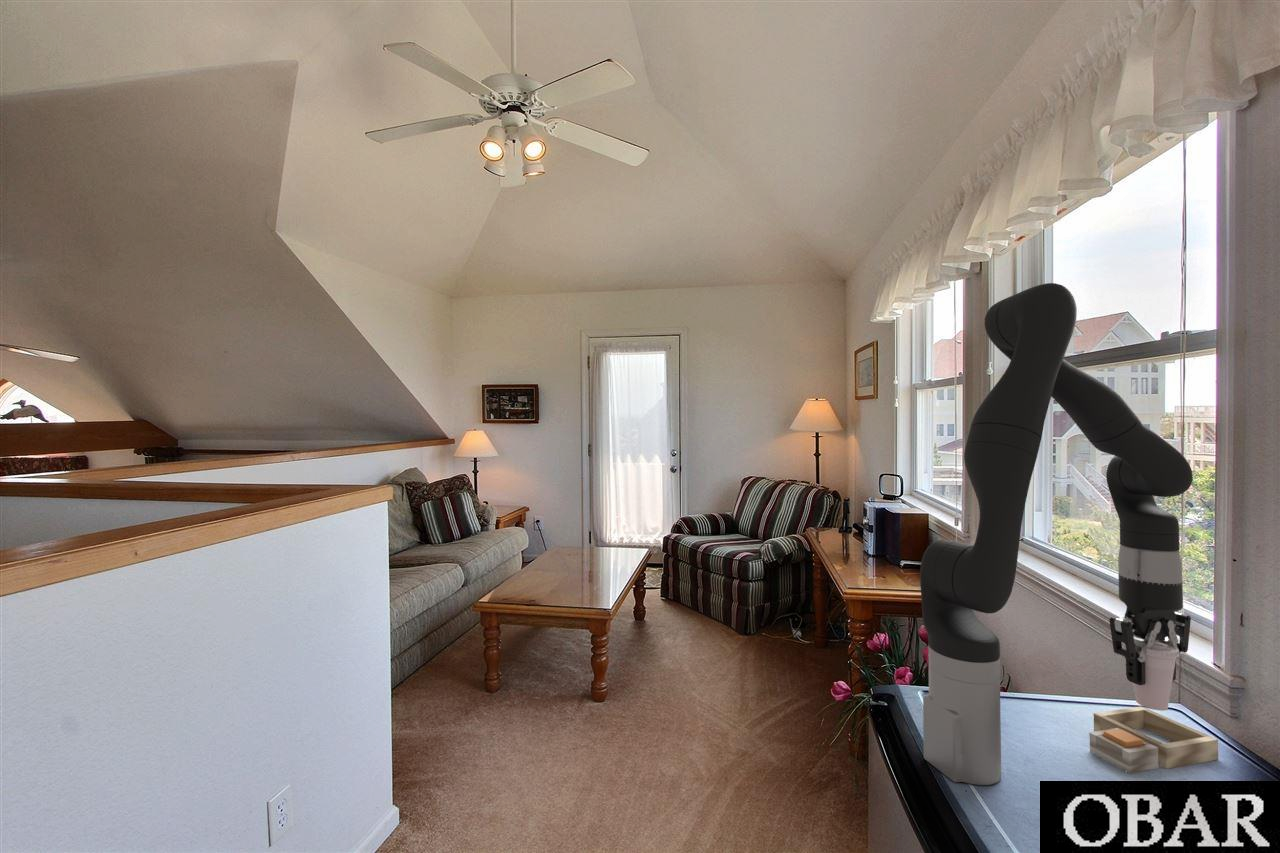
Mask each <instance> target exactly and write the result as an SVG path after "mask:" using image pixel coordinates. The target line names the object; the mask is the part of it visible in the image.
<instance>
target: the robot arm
mask: <svg viewBox="0 0 1280 853" xmlns="http://www.w3.org/2000/svg"><path fill="white" fill-rule="evenodd" d="M1077 311H1078V310H1077V304H1076V300H1075V297H1074V295H1073V294H1072V293H1071V291H1070V290H1069V288H1067V287H1066V286H1064V285H1062V284H1059V283H1056V282H1047V283H1042V284H1038V285H1035V286H1032V287H1030V288H1027V289H1024V290H1022V291H1020V292H1016V293H1015V294H1013V295H1010V296H1007V297H1005V298H1004V299H1001V300H999V301H997V302H995V303H994V304H993V305H991V306H990V308H988V310H987V312H986V314H985V317H984V327H985V332H986V335H987V336H988V338H989V340H990V342H991V343H993V344H992V345H994V346H995V347H996V348H997V349H998V350H999V351H1000V352H1001V353H1002V354H1003V355H1004V356H1005V357H1007V358H1008V359H1009V360H1010V362H1009V364H1008V365H1007V368H1006V370H1005V371H1004V373H1003V375H1001V377H1000V378H999V380H998V381H997V382H996V384H995V385H994V386H993V387H992V389H991V390H990V391H989V392H988V394H987V395H986V397H985V398H984V399H983V401H982V402H981V403H980V405H979V407H978V408H977V410H976V412H975V414H974V417H973V418H972V421H971V424H970V429H969V432H968V436H967V440H966V443H965V448H964V454H963V457H964V458H963V460H964V466H965V468H966V469H965V470H966V472H967V476H968V478H969V480H970V483H971V486H972V489H973V490H974V493H975V496H976V499H977V502H978V504H977V505H978V509H979V518H978V519H979V522H978V528H977V532H976V537H975V541H974V544H971V543H968V542H967V543H966V542H962V541H961V542H960V541H956V540H951V539H939V540H935V541H934V542H932V543H930V544H929V545H928V546H927V547H926V550H925V551H924V553H923V556H922V558H921V563H920V567H919V568H920V571H919V581H920V597H921V598H920V600H921V610H922V611H921V612H922V621H923V622H922V623H923V627H924V630H925V631H926V634H927V636H928V644H927V645H928V648H927V649H928V695H924V696H923V699H922V701H923V702H922V705H923V709H922V710H923V711H922V712H923V715H922V716H923V718H922V721H923V759H924V760H926V761H927V762H928V763H930V765H932V767H935V768H936V769H937V770H939V771H940V772H941V774H943V775H944V776H946V777H947V778H948V779H949V780H950V781H952V782H954V783H962V782H963V783H965V784H966V783H967V784H971V785H977V786H988V785H989V786H990V785H995V784H997V783H998V782H999V781H1001V779H1002V731H1001V730H1002V729H1001V728H1002V727H1001V726H1002V725H1001V724H1002V723H1001V722H1002V721H1001V654H1000V653H1001V647H1000V646H1001V645H1000V640H999V638H998V636H997V635H996V634H995V632H993V630H991V629H990V628H988V626H986V625H985V624H984V623H982V622H981V620H980V619H979V618H978V617H977V616H976V614H974V611H976V612H979V613H984V614H994V613H995V614H996V613H997V612H999V611H1000V610H1002V609H1003V608H1004V607H1005V606H1006V604H1007V603H1008V602H1009V599H1010V596H1011V595H1012V591H1013V588H1014V584H1015V579H1016V573H1017V567H1018V566H1017V565H1018V558H1019V557H1018V556H1019V549H1020V540H1021V533H1022V532H1021V531H1022V525H1023V517H1024V513H1025V508H1026V502H1027V499H1028V498H1027V497H1028V493H1029V490H1030V485H1031V484H1030V483H1031V480H1032V476H1033V472H1034V470H1035V466H1036V462H1037V458H1038V454H1039V450H1040V447H1041V442H1042V441H1041V440H1042V436H1043V431H1044V427H1045V420H1046V416H1047V413H1048V409H1049V406H1050V402H1051V398H1052V399H1053V400H1054V401H1055V402H1056V403H1057V404H1058V405H1059V406H1060V407H1061V408H1062V409H1063V410H1064V411H1065V413H1067V415H1068V416H1069V417H1070V418H1071V420H1072V421H1073V422H1074V423H1075V424H1076V426H1077V427H1078V429H1079V430H1080V431H1081V433H1083V434H1084V435H1083V436H1085V438H1086V439H1087V440H1088V442H1089V443H1090V444H1091V445H1092V446H1093V448H1095V449H1096V450H1098V451H1100V452H1103V453H1104V454H1108V455H1112V456H1113V457H1112V458H1111V459H1110V461H1109V462H1108V465H1107V467H1106V472H1105V473H1106V474H1105V475H1106V477H1105V478H1106V483H1107V487H1108V491H1109V494H1110V496H1111V499H1112V503H1113V506H1114V509H1115V512H1116V513H1117V516H1118V519H1119V551H1118V555H1117V558H1118V559H1117V560H1118V561H1117V562H1118V564H1117V565H1118V566H1117V568H1118V572H1117V573H1118V575H1117V576H1118V577H1117V578H1118V599H1119V600H1120V601H1121V602H1122V603H1124V604H1125V606H1126V611H1125V613H1124V616H1123V617H1115V616H1111V617H1109V626H1110V627H1109V628H1110V633H1111V634H1110V635H1111V641H1112V649H1113V652H1114V653H1115V654H1116V655H1120V656H1122V657H1124V659H1125V675H1126V679H1127V680H1128V682H1130V683H1132V684H1133V683H1135V684H1138V685H1145V683H1146V682H1145V662H1144V660H1145V657H1146V653H1147V650H1146V649H1152V648H1153V644H1154V641H1156V640H1157V642H1161V643H1165V644H1168V645H1169V646H1171V647H1173V646H1175V647H1176V648H1178V650H1179V656H1180V654H1181V653H1185V654H1186V653H1187V652H1188V651H1189V640H1190V629H1191V623H1192V622H1191V621H1192V619H1191V616H1190V615H1188V614H1185V613H1180V612H1179V611H1181V610H1183V608H1184V601H1183V600H1184V599H1183V598H1184V597H1183V594H1184V593H1183V592H1184V591H1183V590H1184V589H1183V588H1184V587H1183V562H1182V559H1181V554H1180V553H1181V552H1180V551H1181V550H1180V524H1179V519H1178V518H1177V517H1176V515H1174V514H1173V513H1170V512H1168V511H1166V510H1163V509H1161V508H1160V507H1159V506H1158V505H1157V503H1156V500H1155V498H1154V497H1162V498H1171V497H1177V496H1180V495H1182V494H1185V492H1187V491H1188V490H1189V489H1190V488H1191V485H1192V483H1193V479H1194V478H1193V477H1194V476H1193V470H1192V467H1191V465H1190V463H1189V461H1188V460H1187V459H1186V457H1185V456H1184V455H1183V454H1182V453H1181V452H1180V451H1178V449H1177V448H1176V447H1174V446H1173V445H1172V444H1170V443H1169V442H1167V440H1165V439H1164V438H1162V437H1161V436H1160V435H1158V433H1156V432H1155V431H1153V430H1151V429H1150V428H1149V427H1147V426H1145V425H1144V424H1143V423H1142V421H1141V420H1140V419H1139V417H1138V416H1137V414H1136V413H1135V412H1134V411H1133V409H1132V408H1131V407H1130V406H1129V405H1128V403H1127V402H1126V401H1125V400H1124V398H1123V397H1122V396H1121V395H1120V394H1119V393H1118V392H1117V391H1115V390H1114V389H1113V388H1112V387H1111V386H1109V385H1108V384H1106V383H1105V382H1104V381H1102V380H1100V379H1098V378H1096V377H1095V376H1093V375H1091V374H1089V373H1087V372H1086V371H1084V370H1082V369H1080V368H1078V367H1077V366H1075V365H1074V364H1071V363H1070V362H1068V361H1067V360H1065V359H1064V358H1065V355H1066V352H1067V350H1068V347H1069V344H1070V342H1071V339H1072V336H1073V333H1074V330H1075V327H1076V324H1077V317H1078V316H1077V315H1078V312H1077ZM1177 636H1179V638H1178V637H1177ZM1134 637H1137V638H1140V639H1143V640H1144V641H1140V640H1137V639H1134ZM1123 643H1124V644H1125V645H1122V644H1123ZM1135 645H1138V646H1139V648H1138V652H1137V653H1136V651H1135ZM1177 658H1179V657H1177ZM1177 658H1176V659H1177ZM1176 680H1177V660H1176V661H1175V668H1174V674H1173V680H1172V682H1173V681H1176Z"/></svg>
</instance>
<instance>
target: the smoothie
mask: <svg viewBox="0 0 1280 853" xmlns="http://www.w3.org/2000/svg"><path fill="white" fill-rule="evenodd" d="M1133 637H1134V639H1137V640H1140V641H1144V640H1143V639H1140V638H1137V637H1136V636H1133ZM1124 645H1125V643H1124ZM1124 645H1123V646H1124ZM1138 648H1139V646H1138V645H1135V651H1136V653H1137V652H1138ZM1146 650H1147V653H1146V657H1145V660H1144V662H1145V682H1146V683H1145V685H1138V684H1135V683H1133V682H1132V684H1133V690H1134V695H1135V696H1134V697H1135V701H1136V703H1137V704H1138V705H1140V706H1142V707H1144V708H1146V709H1149V710H1155V711H1160V712H1161V711H1167V710H1168V708H1169V704H1170V698H1171V690H1172V685H1173V681H1172V680H1173V674H1174V668H1175V661H1176V662H1177V657H1178V658H1179V657H1180V655H1179V650H1178V648H1176V647H1175V646H1173V647H1171V646H1169V645H1168V644H1165V643H1161V642H1157V640H1156V641H1154V644H1153V648H1152V649H1146Z"/></svg>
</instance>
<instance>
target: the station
mask: <svg viewBox="0 0 1280 853" xmlns="http://www.w3.org/2000/svg"><path fill="white" fill-rule="evenodd" d="M1114 729H1122V730H1124V731H1126V732H1128V733H1130V734H1132V735H1134V736H1136V737H1138V738H1140V739H1142V740H1143V746H1139V747H1133V748H1125V747H1123V746H1121V745H1119V744H1117V743H1115V742H1114V741H1112V740H1110V739H1108V738H1106V737H1104V731H1108V730H1114ZM1139 729H1145V730H1148V731H1150V732H1152V733H1154V734H1156V735H1158V736H1161V737H1163V738H1165V739H1166V740H1169V741H1171V742H1167V743H1163V742H1161V741H1159V740H1157V739H1154V738H1152V737H1150V736H1148V735H1146V734H1144V733H1142V732H1139V731H1137V730H1139ZM1089 753H1092V754H1094V755H1095V756H1097V757H1098V758H1100V759H1102V760H1104V761H1105V762H1108V763H1110V764H1112V765H1113V766H1115V767H1117V768H1119V769H1121V770H1122V769H1123V770H1122V771H1124V770H1125V772H1126V771H1127V772H1126V773H1129V774H1133V773H1139V772H1145V771H1150V770H1155V769H1159V766H1160V767H1162V768H1164V769H1167V770H1168V769H1173V768H1179V767H1183V766H1184V767H1185V766H1190V765H1195V764H1200V763H1206V762H1211V761H1217V760H1219V739H1218V738H1215V737H1213V736H1211V735H1208V734H1206V733H1204V732H1202V731H1199V730H1198V729H1194V728H1192V727H1190V726H1188V725H1186V724H1183V723H1182V722H1179V721H1177V720H1174V719H1172V718H1169V717H1168V716H1167V717H1166V716H1164V715H1162V714H1160V713H1158V712H1155V711H1153V710H1152V709H1150V708H1147V707H1144V706H1142V705H1140V706H1135V707H1128V708H1121V709H1116V710H1108V711H1101V712H1094V713H1093V731H1090V732H1089Z"/></svg>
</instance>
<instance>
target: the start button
mask: <svg viewBox="0 0 1280 853" xmlns="http://www.w3.org/2000/svg"><path fill="white" fill-rule="evenodd" d="M1104 737H1106V738H1108V739H1110V740H1112V741H1114V742H1115V743H1117V744H1119V745H1121V746H1123V747H1125V748H1133V747H1139V746H1143V740H1142V739H1140V738H1138V737H1136V736H1134V735H1132V734H1130V733H1128V732H1126V731H1124V730H1122V729H1114V730H1108V731H1104Z"/></svg>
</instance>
